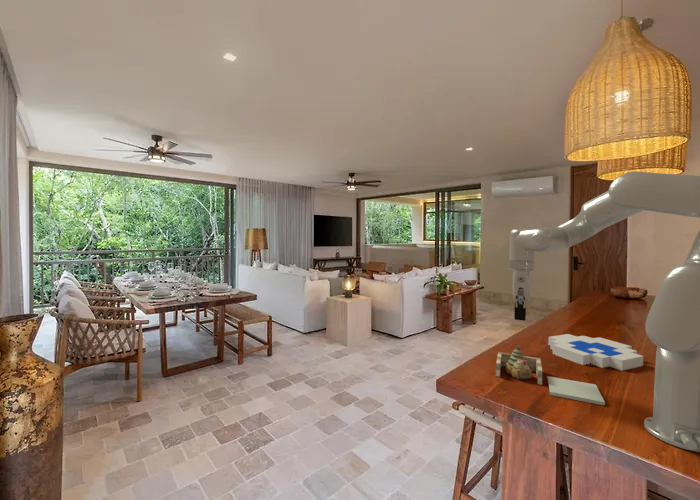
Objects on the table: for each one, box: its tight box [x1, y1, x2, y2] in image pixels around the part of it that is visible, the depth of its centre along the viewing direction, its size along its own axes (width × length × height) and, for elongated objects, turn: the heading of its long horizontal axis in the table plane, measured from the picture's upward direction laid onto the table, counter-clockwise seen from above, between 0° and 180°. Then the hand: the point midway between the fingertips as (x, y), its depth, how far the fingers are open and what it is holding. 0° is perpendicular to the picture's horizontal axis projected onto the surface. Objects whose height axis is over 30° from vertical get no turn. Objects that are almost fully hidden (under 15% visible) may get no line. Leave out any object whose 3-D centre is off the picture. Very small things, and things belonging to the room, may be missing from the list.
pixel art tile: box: [547, 333, 644, 371], centre depth 129 cm, size 28×4×28 cm
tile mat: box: [546, 375, 606, 406], centre depth 99 cm, size 12×13×1 cm
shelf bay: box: [495, 351, 543, 385], centre depth 112 cm, size 12×13×4 cm
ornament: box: [505, 345, 532, 380], centre depth 110 cm, size 8×6×10 cm
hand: (519, 316), depth 109 cm, fingers open, 9 cm apart
